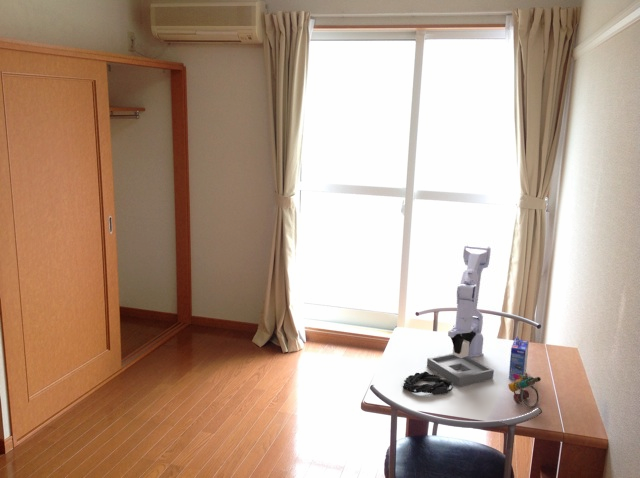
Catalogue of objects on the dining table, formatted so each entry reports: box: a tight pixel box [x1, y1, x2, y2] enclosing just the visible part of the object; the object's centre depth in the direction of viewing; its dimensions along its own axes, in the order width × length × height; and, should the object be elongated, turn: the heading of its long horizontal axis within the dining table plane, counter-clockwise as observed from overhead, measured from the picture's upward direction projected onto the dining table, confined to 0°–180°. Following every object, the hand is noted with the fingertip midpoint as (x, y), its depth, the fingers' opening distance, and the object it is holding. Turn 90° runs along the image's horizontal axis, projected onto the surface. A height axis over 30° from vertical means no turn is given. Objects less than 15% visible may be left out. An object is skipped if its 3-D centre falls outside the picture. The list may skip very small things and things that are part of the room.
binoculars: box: [507, 375, 542, 408], centre depth 189 cm, size 9×9×10 cm
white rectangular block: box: [452, 340, 469, 358], centre depth 210 cm, size 4×4×6 cm
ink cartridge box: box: [508, 336, 530, 381], centre depth 210 cm, size 10×6×14 cm, turn 155°
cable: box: [402, 371, 454, 396], centre depth 199 cm, size 17×14×4 cm
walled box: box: [426, 352, 495, 388], centre depth 211 cm, size 16×18×4 cm
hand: (461, 351), depth 210 cm, fingers closed on white rectangular block, 4 cm apart
